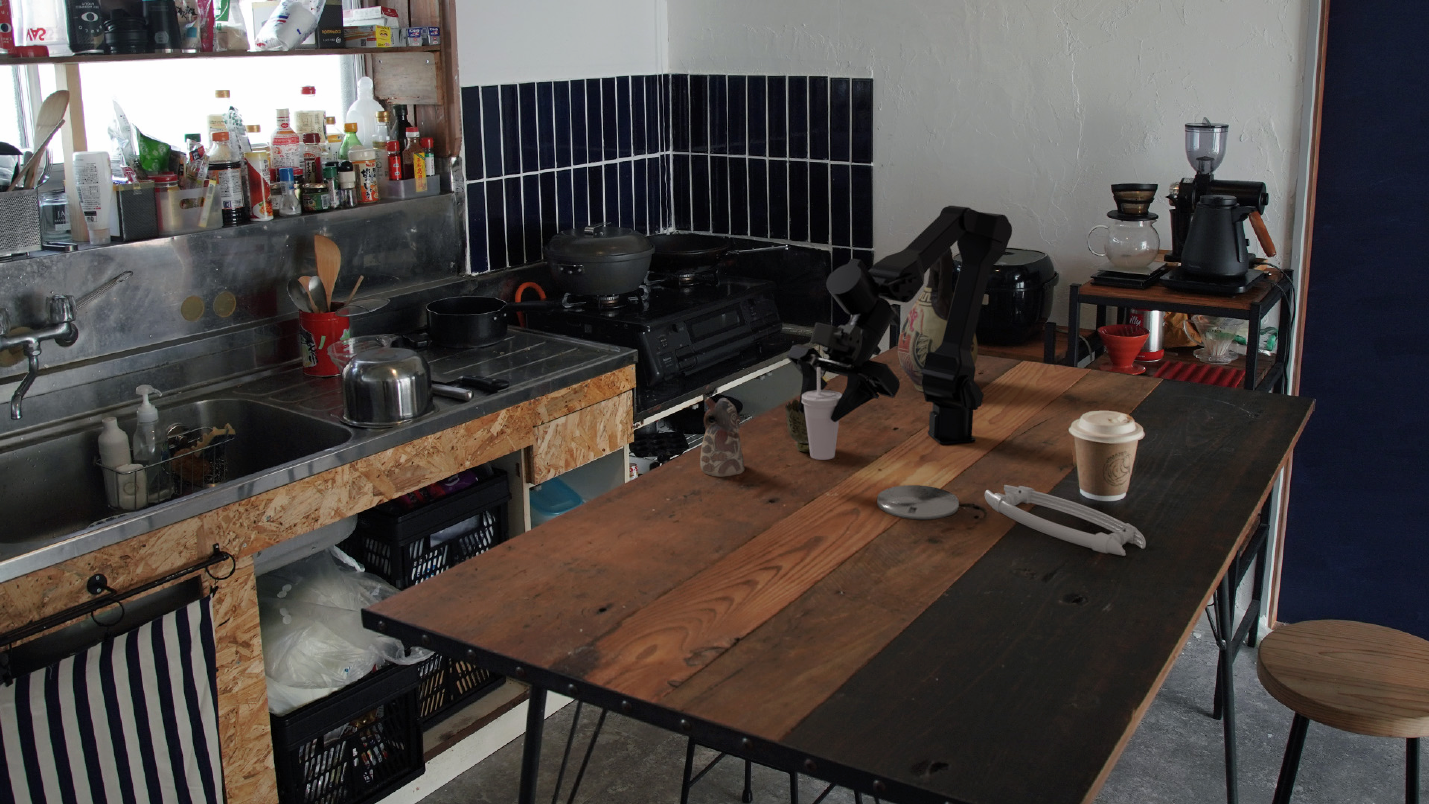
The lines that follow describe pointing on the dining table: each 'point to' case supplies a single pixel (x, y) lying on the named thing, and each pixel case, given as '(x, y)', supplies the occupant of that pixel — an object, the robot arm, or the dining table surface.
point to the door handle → (1096, 542)
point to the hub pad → (917, 502)
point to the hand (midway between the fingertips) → (816, 416)
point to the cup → (797, 426)
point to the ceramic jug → (928, 321)
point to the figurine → (721, 440)
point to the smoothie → (821, 420)
